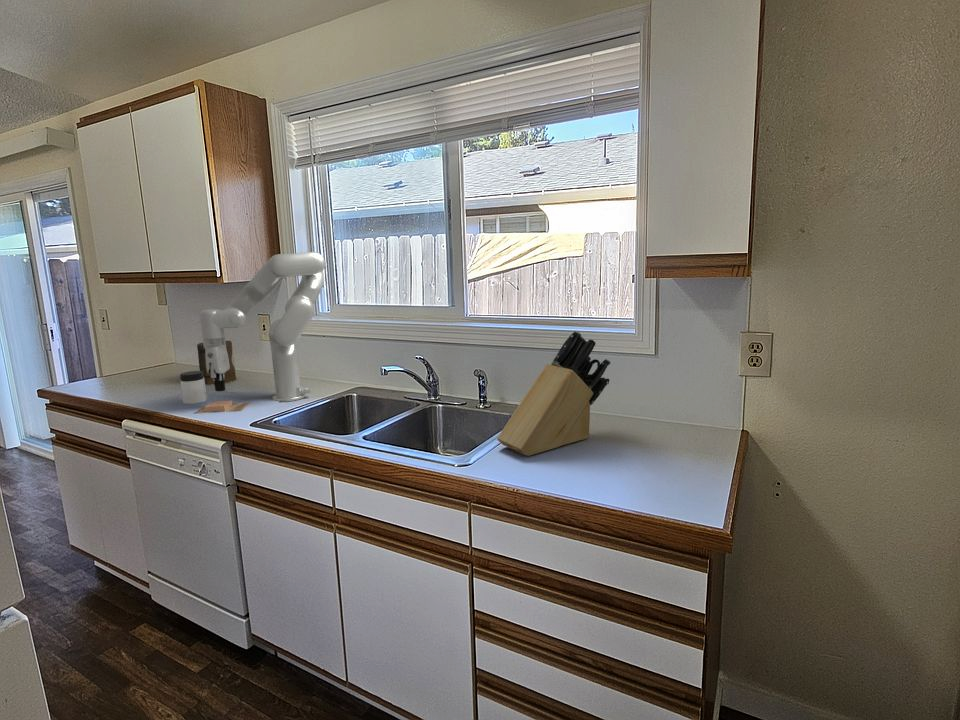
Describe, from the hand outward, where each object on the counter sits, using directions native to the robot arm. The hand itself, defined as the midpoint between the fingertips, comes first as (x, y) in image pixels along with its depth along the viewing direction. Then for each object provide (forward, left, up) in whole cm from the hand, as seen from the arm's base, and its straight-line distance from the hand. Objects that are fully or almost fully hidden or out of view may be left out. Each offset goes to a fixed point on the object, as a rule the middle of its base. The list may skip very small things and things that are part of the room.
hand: (220, 390), depth 209 cm
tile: (0, 0, -5) cm, 5 cm away
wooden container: (+21, -50, -7) cm, 55 cm away
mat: (-1, +2, -7) cm, 7 cm away
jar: (+15, -11, -7) cm, 20 cm away
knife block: (-117, +57, -7) cm, 130 cm away
